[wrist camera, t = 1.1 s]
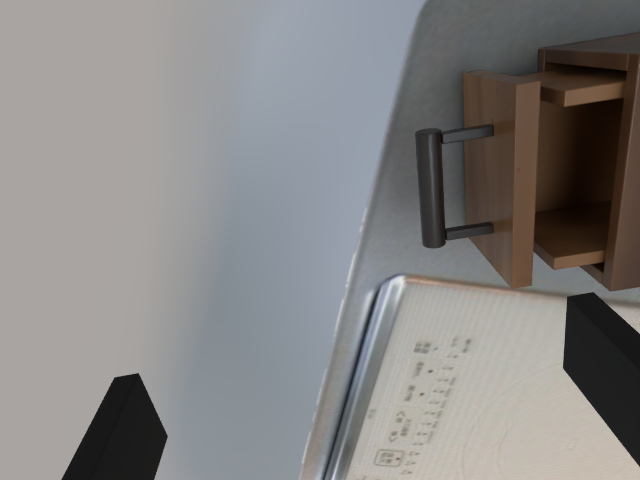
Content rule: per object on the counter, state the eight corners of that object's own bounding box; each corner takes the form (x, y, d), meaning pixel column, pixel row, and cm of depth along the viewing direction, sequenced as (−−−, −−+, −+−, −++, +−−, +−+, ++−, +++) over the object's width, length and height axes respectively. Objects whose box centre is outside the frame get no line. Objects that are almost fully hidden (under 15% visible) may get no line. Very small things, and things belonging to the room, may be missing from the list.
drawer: (408, 244, 34) (437, 300, 26) (395, 84, 29) (426, 99, 22) (650, 206, 33) (746, 252, 26) (677, 37, 29) (802, 37, 21)
